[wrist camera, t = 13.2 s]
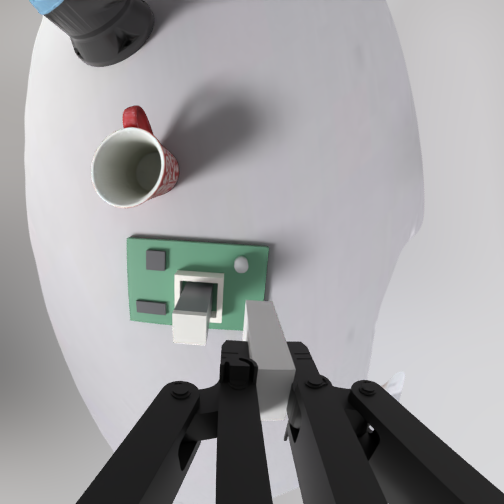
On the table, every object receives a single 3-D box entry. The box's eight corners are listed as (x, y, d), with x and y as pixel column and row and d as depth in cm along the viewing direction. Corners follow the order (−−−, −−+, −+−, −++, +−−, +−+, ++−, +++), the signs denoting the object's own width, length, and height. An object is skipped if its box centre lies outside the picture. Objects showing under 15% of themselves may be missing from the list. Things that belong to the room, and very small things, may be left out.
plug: (187, 281, 43) (172, 313, 32) (213, 283, 44) (206, 316, 32) (187, 304, 44) (173, 342, 32) (212, 306, 44) (205, 345, 33)
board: (129, 237, 42) (121, 241, 39) (267, 246, 44) (270, 251, 40) (132, 317, 45) (125, 327, 42) (259, 327, 47) (261, 338, 43)
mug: (187, 199, 42) (166, 204, 29) (131, 204, 41) (92, 211, 28) (184, 119, 39) (164, 91, 26) (129, 126, 39) (91, 105, 25)
